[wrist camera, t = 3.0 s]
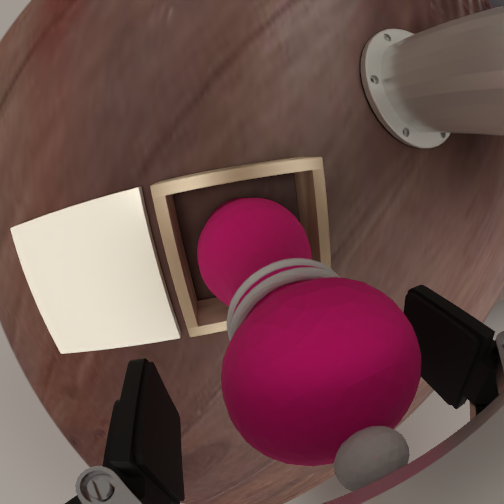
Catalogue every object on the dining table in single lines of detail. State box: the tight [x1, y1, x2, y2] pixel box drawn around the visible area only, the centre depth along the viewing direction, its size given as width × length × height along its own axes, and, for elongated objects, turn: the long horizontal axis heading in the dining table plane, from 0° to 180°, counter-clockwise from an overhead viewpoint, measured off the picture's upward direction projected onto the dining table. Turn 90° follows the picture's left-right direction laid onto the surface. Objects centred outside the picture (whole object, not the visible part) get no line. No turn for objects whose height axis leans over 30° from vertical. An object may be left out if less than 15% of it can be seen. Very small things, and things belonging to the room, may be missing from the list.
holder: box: [150, 157, 331, 337], centre depth 21 cm, size 11×11×4 cm
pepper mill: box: [197, 197, 421, 491], centre depth 13 cm, size 7×7×20 cm
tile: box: [10, 186, 181, 354], centre depth 21 cm, size 13×13×1 cm
